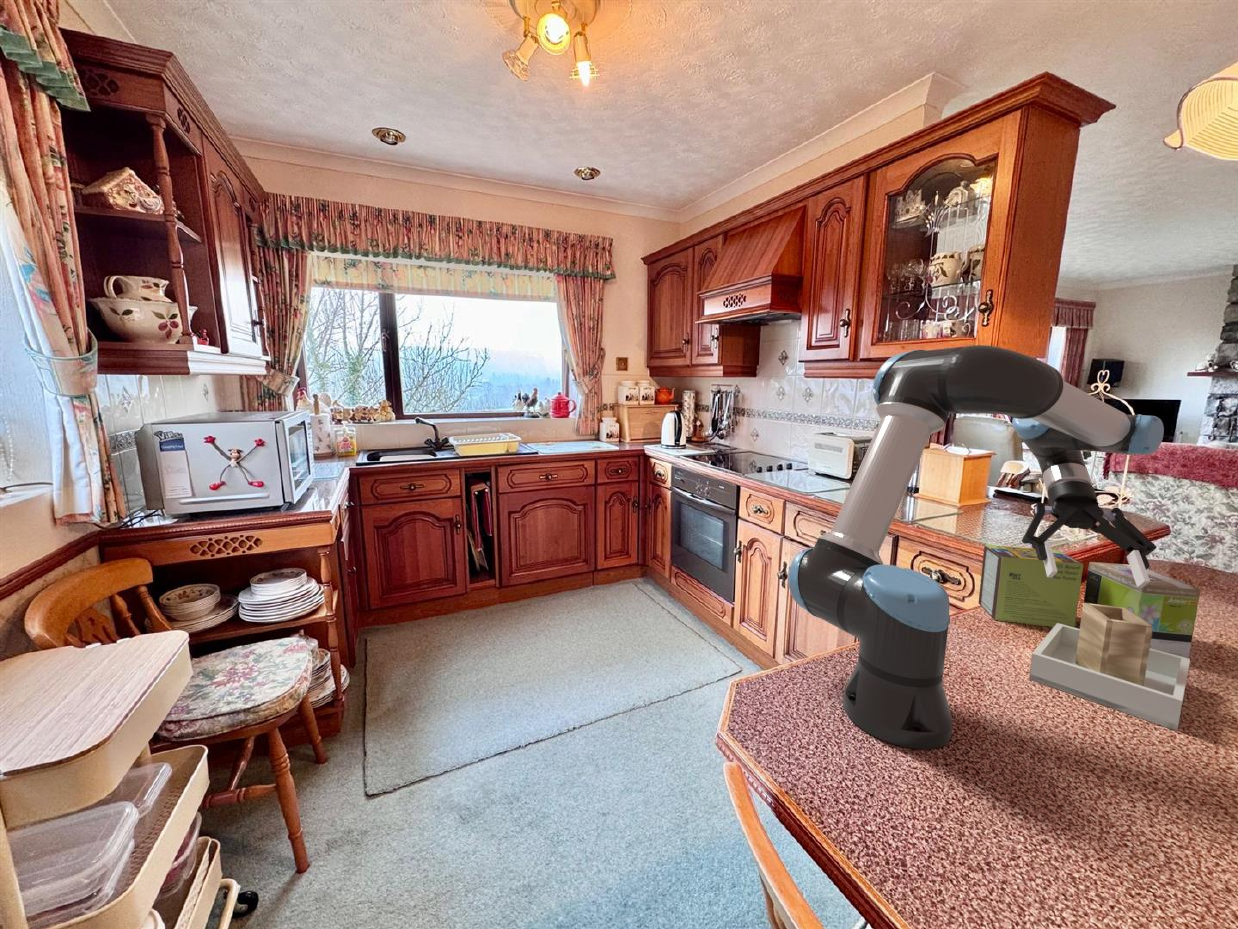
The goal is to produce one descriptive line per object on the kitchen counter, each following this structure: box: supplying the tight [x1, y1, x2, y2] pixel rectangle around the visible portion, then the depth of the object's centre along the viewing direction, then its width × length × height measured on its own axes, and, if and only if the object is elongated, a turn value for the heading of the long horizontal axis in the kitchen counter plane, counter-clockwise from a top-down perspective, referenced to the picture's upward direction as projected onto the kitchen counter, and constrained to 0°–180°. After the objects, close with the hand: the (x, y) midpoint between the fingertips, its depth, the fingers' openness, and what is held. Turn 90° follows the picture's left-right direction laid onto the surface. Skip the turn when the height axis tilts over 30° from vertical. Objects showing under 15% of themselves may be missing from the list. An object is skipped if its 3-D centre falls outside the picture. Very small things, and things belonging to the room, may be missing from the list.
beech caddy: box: [1075, 602, 1153, 686], centre depth 88 cm, size 6×8×12 cm
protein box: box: [978, 544, 1084, 628], centre depth 115 cm, size 10×15×16 cm
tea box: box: [1083, 561, 1201, 659], centre depth 104 cm, size 15×10×15 cm
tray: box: [1028, 623, 1191, 732], centre depth 88 cm, size 18×20×5 cm
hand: (1096, 579), depth 94 cm, fingers open, 13 cm apart
